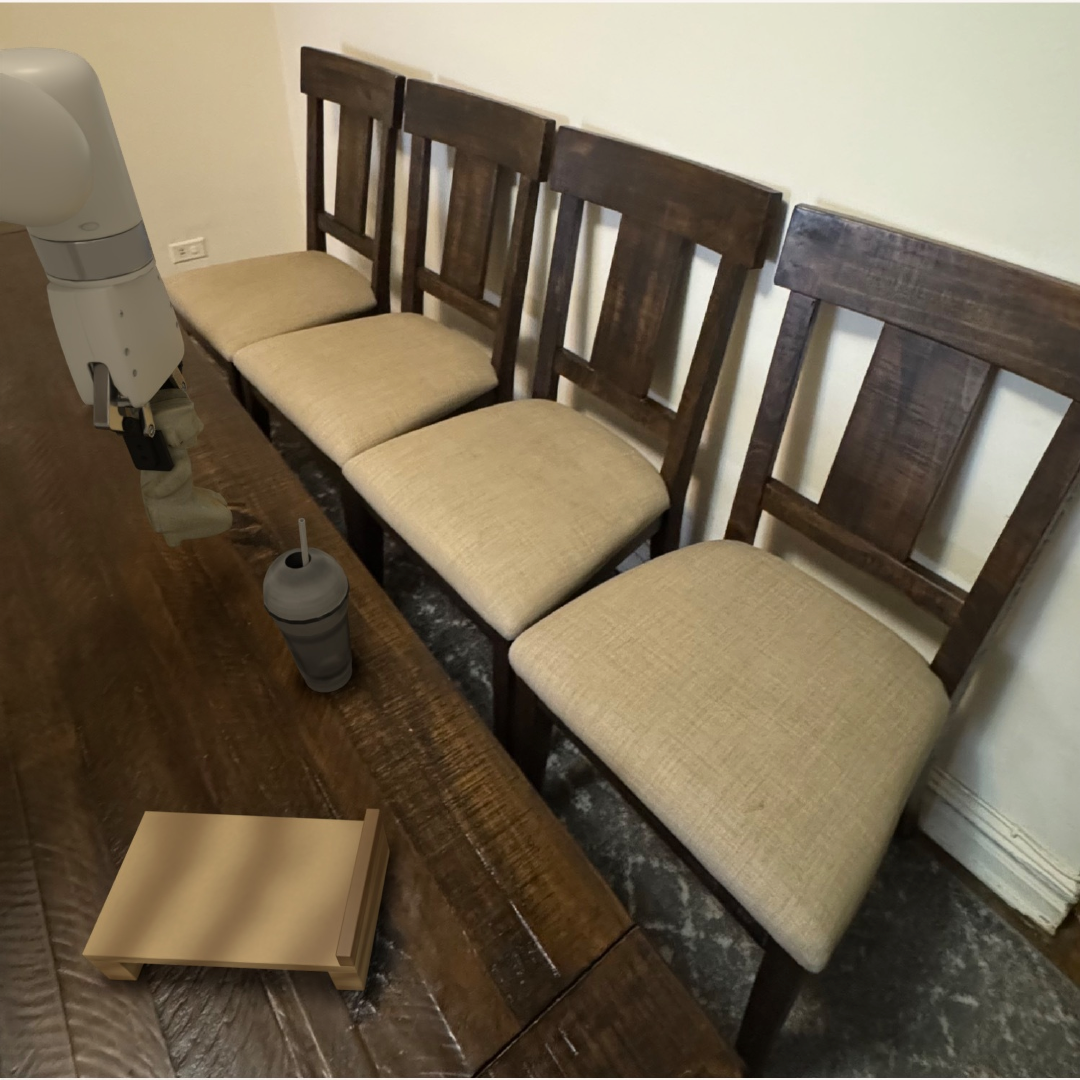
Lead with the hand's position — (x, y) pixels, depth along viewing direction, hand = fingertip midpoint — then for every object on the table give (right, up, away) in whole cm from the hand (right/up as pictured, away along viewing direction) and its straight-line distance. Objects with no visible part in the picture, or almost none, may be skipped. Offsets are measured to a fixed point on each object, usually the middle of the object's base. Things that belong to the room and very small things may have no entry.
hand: (167, 448), depth 67 cm
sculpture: (0, -8, +7) cm, 10 cm away
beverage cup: (+13, -21, +5) cm, 26 cm away
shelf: (+13, -36, -11) cm, 40 cm away
